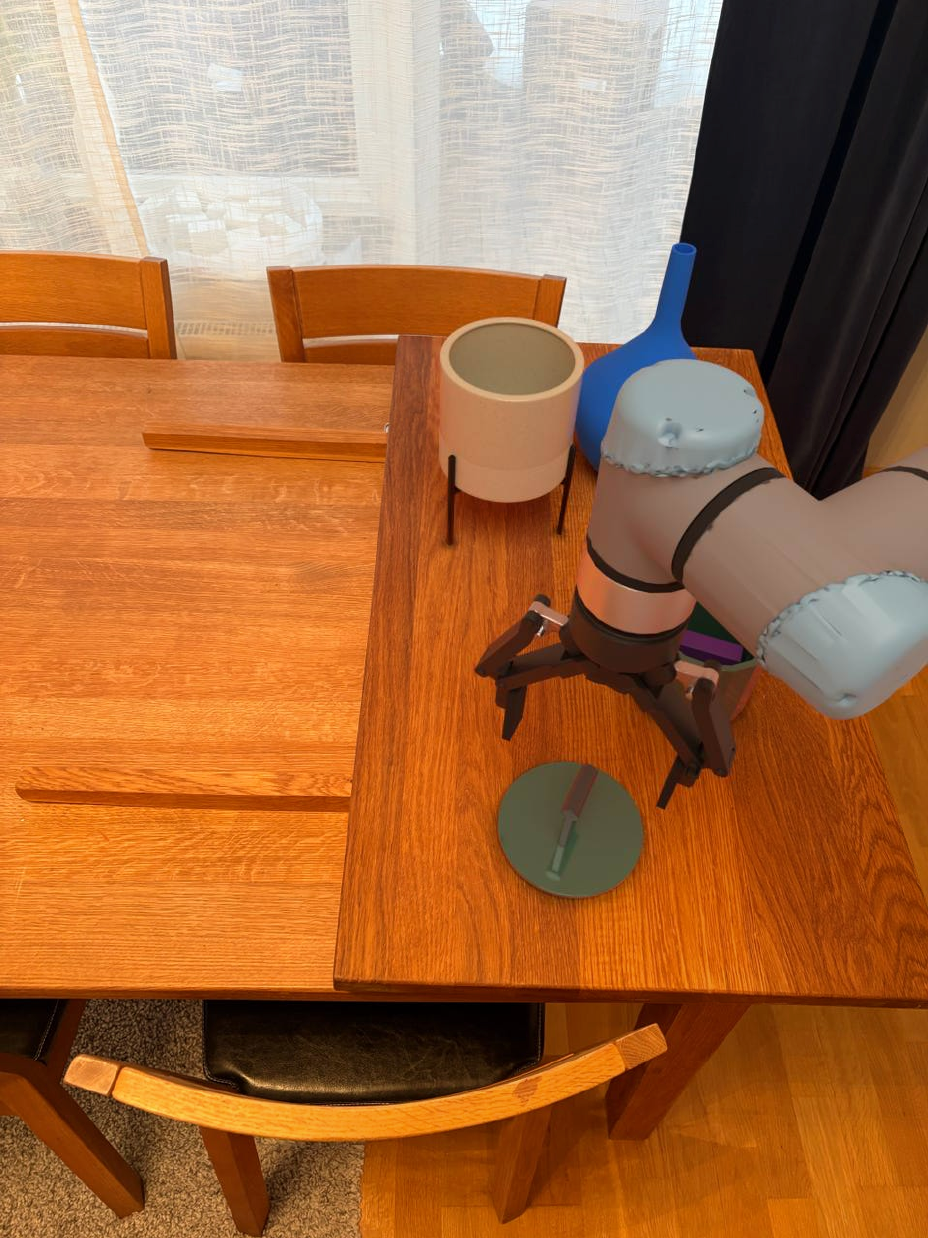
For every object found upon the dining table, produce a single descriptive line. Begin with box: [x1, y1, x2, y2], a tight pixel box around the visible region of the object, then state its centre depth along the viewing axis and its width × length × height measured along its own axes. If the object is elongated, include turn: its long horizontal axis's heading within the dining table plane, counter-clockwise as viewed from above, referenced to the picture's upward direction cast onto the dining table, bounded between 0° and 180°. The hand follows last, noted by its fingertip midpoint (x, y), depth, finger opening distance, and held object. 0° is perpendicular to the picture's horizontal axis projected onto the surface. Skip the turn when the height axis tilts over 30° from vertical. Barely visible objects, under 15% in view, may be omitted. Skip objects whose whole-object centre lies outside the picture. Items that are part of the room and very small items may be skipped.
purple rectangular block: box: [679, 630, 743, 666], centre depth 91 cm, size 8×4×2 cm
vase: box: [574, 242, 699, 473], centre depth 103 cm, size 18×18×30 cm
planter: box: [438, 316, 585, 546], centre depth 99 cm, size 15×16×23 cm
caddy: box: [673, 601, 765, 723], centre depth 88 cm, size 12×12×10 cm
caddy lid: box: [496, 761, 644, 900], centre depth 77 cm, size 14×14×8 cm
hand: (586, 760), depth 71 cm, fingers open, 13 cm apart
